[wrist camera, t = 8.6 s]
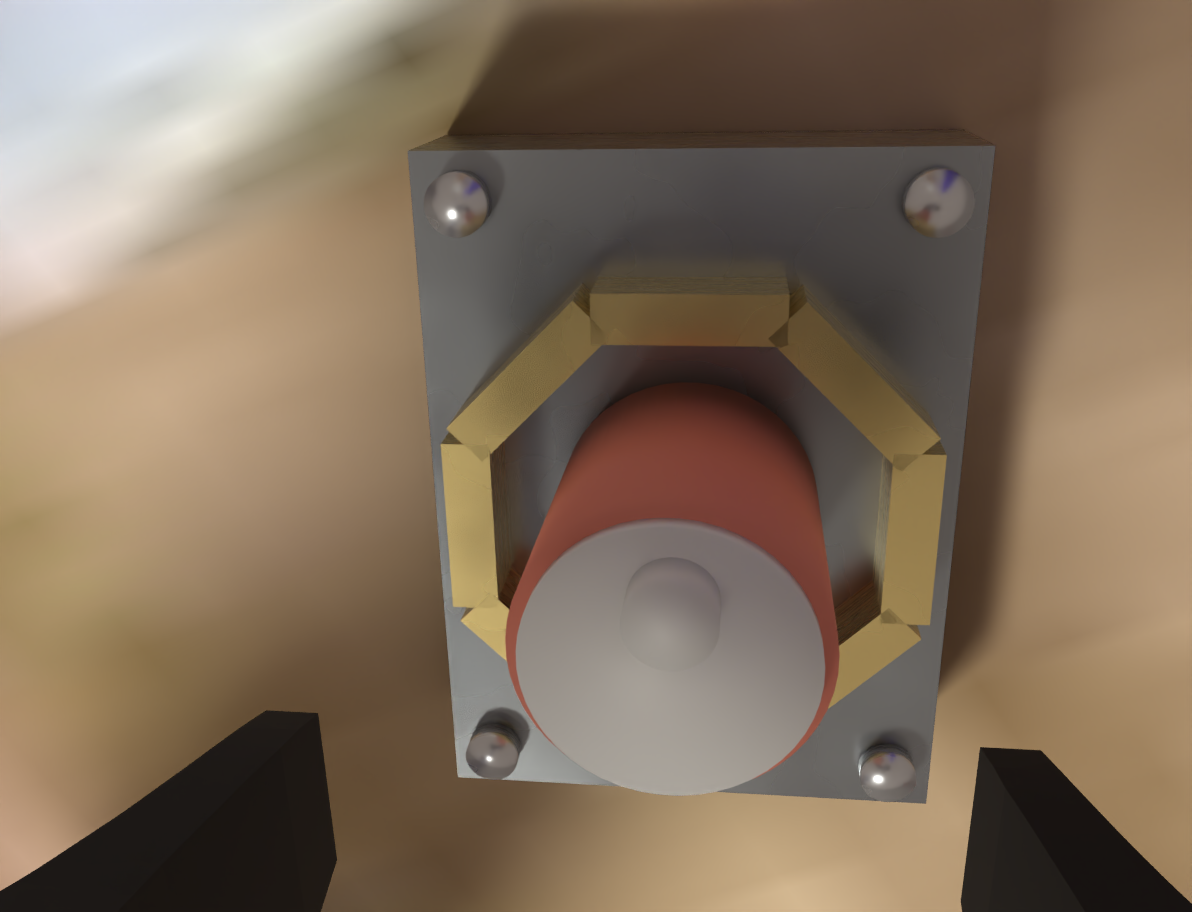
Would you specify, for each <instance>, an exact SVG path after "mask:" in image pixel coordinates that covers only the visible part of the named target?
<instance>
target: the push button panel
mask: <svg viewBox="0 0 1192 912" xmlns="http://www.w3.org/2000/svg"><path fill="white" fill-rule="evenodd" d="M994 154H995V145H993V144H991V143H989V142H987V141H985V140H983V139H981V138H979V137H977V136H975V135H973V134H971V133H969V132H967V131H965V130H892V131H798V132H704V133H609V134H515V135H445V136H443V137H440V138H438V139H435V140H433V141H431V142H428V143H426V144H423V145H421V146H419V147H416V148H414V149H411V150H409V151H408V160H409V172H410V185H411V197H412V210H413V222H414V235H415V247H416V260H417V272H418V285H419V297H420V310H421V322H422V335H423V347H424V360H425V372H426V385H427V397H428V410H429V423H430V435H431V448H432V460H433V473H434V485H435V498H436V510H437V523H438V535H439V548H440V560H441V573H442V585H443V598H444V610H445V623H446V635H447V648H448V660H449V673H450V685H451V698H452V710H453V723H454V736H455V748H456V761H457V773H458V777H464V778H482V779H491V780H497V779H499V780H517V781H535V782H553V783H570V784H588V785H606V786H619V785H617V784H614V783H612V782H609V781H607V780H604V779H602V778H600V777H598V776H596V775H595V774H593V773H591V772H589V771H587V770H585V769H584V768H582V767H581V766H580V765H578V764H577V763H575V762H574V761H572V760H571V759H570V758H568V757H567V756H566V755H565V754H563V753H562V752H561V751H560V750H559V749H558V748H557V747H556V746H554V745H553V744H552V743H551V742H550V741H549V740H548V739H547V738H546V737H545V736H544V735H543V733H542V732H541V731H540V730H539V729H538V728H537V727H536V725H535V724H534V723H533V721H532V720H531V718H530V717H529V715H528V714H527V712H526V711H525V709H524V707H523V705H522V703H521V702H520V700H519V698H518V696H517V694H516V691H515V688H514V686H513V683H512V680H511V677H510V673H509V668H508V663H507V659H506V645H505V635H506V624H507V617H508V613H509V609H510V605H511V601H512V599H513V596H514V594H515V592H516V589H517V587H518V584H519V582H520V579H521V577H522V574H523V572H524V569H525V567H526V565H527V562H528V560H529V557H530V555H531V552H532V550H533V547H534V545H535V542H536V540H537V538H538V535H539V533H540V530H541V528H542V525H543V523H544V520H545V518H546V515H547V513H548V510H549V508H550V506H551V503H552V501H553V498H554V496H555V493H556V491H557V488H558V486H559V483H560V481H561V479H562V476H563V474H564V471H565V469H566V466H567V464H568V461H569V459H570V457H571V454H572V452H573V449H574V447H575V446H576V444H577V442H578V441H579V439H580V437H581V435H582V434H583V433H584V432H585V430H586V429H587V428H588V427H589V425H590V424H591V423H592V422H593V421H594V420H595V419H596V418H597V417H598V416H599V415H600V414H601V413H602V412H603V411H605V410H606V409H607V408H609V407H610V406H612V405H613V404H614V403H616V402H617V401H619V400H621V399H623V398H625V397H627V396H629V395H631V394H633V393H635V392H638V391H641V390H643V389H646V388H650V387H654V386H658V385H662V384H670V383H679V382H689V383H704V384H711V385H717V386H720V387H724V388H728V389H731V390H734V391H736V392H739V393H741V394H744V395H746V396H748V397H750V398H752V399H754V400H755V401H757V402H759V403H761V404H762V405H764V406H765V407H767V408H768V409H769V410H771V411H772V412H773V413H774V414H776V415H777V416H778V417H779V418H780V419H781V420H782V421H783V422H784V423H785V424H786V425H787V426H788V427H789V428H790V429H791V431H792V432H793V433H794V435H795V436H796V437H797V439H798V440H799V442H800V443H801V445H802V447H803V449H804V450H805V452H806V454H807V456H808V459H809V461H810V464H811V466H812V469H813V473H814V477H815V481H816V486H817V493H818V500H819V507H820V514H821V521H822V528H823V535H824V542H825V549H826V555H827V562H828V569H829V576H830V583H831V590H832V597H833V604H834V611H835V618H836V625H837V632H838V642H839V653H840V657H839V671H838V678H837V682H836V687H835V691H834V694H833V697H832V699H831V702H830V704H829V707H828V710H827V712H826V713H825V715H824V717H823V719H822V720H821V722H820V724H819V725H818V727H817V728H816V730H815V731H814V732H813V733H812V735H811V736H810V737H809V739H808V740H807V741H806V742H805V743H804V744H803V745H802V746H801V747H800V748H799V749H798V750H797V751H796V752H795V753H794V754H793V755H792V756H790V757H789V758H788V759H786V760H785V761H784V762H782V763H781V764H779V765H778V766H777V767H775V768H773V769H772V770H770V771H768V772H766V773H764V774H763V775H761V776H759V777H757V778H754V779H752V780H749V781H747V782H744V783H742V784H740V785H737V786H735V787H732V788H728V789H724V790H721V791H717V792H730V793H747V794H765V795H783V796H801V797H818V798H836V799H854V800H871V801H883V802H907V803H925V804H926V798H927V789H928V779H929V770H930V760H931V751H932V741H933V732H934V722H935V713H936V703H937V694H938V685H939V675H940V666H941V656H942V647H943V637H944V628H945V618H946V609H947V599H948V590H949V580H950V571H951V561H952V552H953V543H954V533H955V524H956V514H957V505H958V495H959V486H960V476H961V467H962V457H963V448H964V438H965V429H966V420H967V410H968V401H969V391H970V382H971V372H972V363H973V353H974V344H975V334H976V325H977V315H978V306H979V296H980V287H981V278H982V268H983V259H984V249H985V240H986V230H987V221H988V211H989V202H990V192H991V183H992V173H993V164H994Z"/></svg>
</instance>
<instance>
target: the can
mask: <svg viewBox="0 0 1192 912" xmlns="http://www.w3.org/2000/svg"><path fill="white" fill-rule="evenodd" d="M505 645H506V659H507V663H508V668H509V673H510V677H511V680H512V683H513V686H514V688H515V691H516V694H517V696H518V698H519V700H520V702H521V703H522V705H523V707H524V709H525V711H526V712H527V714H528V715H529V717H530V718H531V720H532V721H533V723H534V724H535V725H536V727H537V728H538V729H539V730H540V731H541V732H542V733H543V735H544V736H545V737H546V738H547V739H548V740H549V741H550V742H551V743H552V744H553V745H554V746H556V747H557V748H558V749H559V750H560V751H561V752H562V753H563V754H565V755H566V756H567V757H568V758H570V759H571V760H572V761H574V762H575V763H577V764H578V765H580V766H581V767H582V768H584V769H585V770H587V771H589V772H591V773H593V774H595V775H596V776H598V777H600V778H602V779H604V780H607V781H609V782H612V783H614V784H617V785H619V786H622V787H626V788H629V789H633V790H636V791H640V792H646V793H652V794H658V795H673V796H683V795H699V794H705V793H712V792H717V791H721V790H724V789H728V788H732V787H735V786H737V785H740V784H742V783H744V782H747V781H749V780H752V779H754V778H757V777H759V776H761V775H763V774H764V773H766V772H768V771H770V770H772V769H773V768H775V767H777V766H778V765H779V764H781V763H782V762H784V761H785V760H786V759H788V758H789V757H790V756H792V755H793V754H794V753H795V752H796V751H797V750H798V749H799V748H800V747H801V746H802V745H803V744H804V743H805V742H806V741H807V740H808V739H809V737H810V736H811V735H812V733H813V732H814V731H815V730H816V728H817V727H818V725H819V724H820V722H821V720H822V719H823V717H824V715H825V713H826V712H827V710H828V707H829V704H830V702H831V699H832V697H833V694H834V691H835V687H836V682H837V678H838V671H839V657H840V653H839V642H838V632H837V625H836V618H835V611H834V604H833V597H832V590H831V583H830V576H829V569H828V562H827V555H826V549H825V542H824V535H823V528H822V521H821V514H820V507H819V500H818V493H817V486H816V481H815V477H814V473H813V469H812V466H811V464H810V461H809V459H808V456H807V454H806V452H805V450H804V449H803V447H802V445H801V443H800V442H799V440H798V439H797V437H796V436H795V435H794V433H793V432H792V431H791V429H790V428H789V427H788V426H787V425H786V424H785V423H784V422H783V421H782V420H781V419H780V418H779V417H778V416H777V415H776V414H774V413H773V412H772V411H771V410H769V409H768V408H767V407H765V406H764V405H762V404H761V403H759V402H757V401H755V400H754V399H752V398H750V397H748V396H746V395H744V394H741V393H739V392H736V391H734V390H731V389H728V388H724V387H720V386H717V385H711V384H704V383H689V382H679V383H670V384H662V385H658V386H654V387H650V388H646V389H643V390H641V391H638V392H635V393H633V394H631V395H629V396H627V397H625V398H623V399H621V400H619V401H617V402H616V403H614V404H613V405H612V406H610V407H609V408H607V409H606V410H605V411H603V412H602V413H601V414H600V415H599V416H598V417H597V418H596V419H595V420H594V421H593V422H592V423H591V424H590V425H589V427H588V428H587V429H586V430H585V432H584V433H583V434H582V435H581V437H580V439H579V441H578V442H577V444H576V446H575V447H574V449H573V452H572V454H571V457H570V459H569V461H568V464H567V466H566V469H565V471H564V474H563V476H562V479H561V481H560V483H559V486H558V488H557V491H556V493H555V496H554V498H553V501H552V503H551V506H550V508H549V510H548V513H547V515H546V518H545V520H544V523H543V525H542V528H541V530H540V533H539V535H538V538H537V540H536V542H535V545H534V547H533V550H532V552H531V555H530V557H529V560H528V562H527V565H526V567H525V569H524V572H523V574H522V577H521V579H520V582H519V584H518V587H517V589H516V592H515V594H514V596H513V599H512V601H511V605H510V609H509V613H508V617H507V624H506V635H505Z"/></svg>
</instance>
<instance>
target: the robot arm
mask: <svg viewBox="0 0 1192 912" xmlns="http://www.w3.org/2000/svg"><path fill="white" fill-rule="evenodd" d="M336 861H337V857H336V849H335V841H334V833H333V826H332V818H331V810H330V803H329V795H328V787H327V779H326V772H325V764H324V756H323V748H322V741H321V733H320V725H319V718H318V713H303V712H284V711H265V712H263V713H262V714H260V715H259V716H257V717H255V718H254V719H252V720H251V721H249V722H248V723H246V724H245V725H244V726H242V727H241V728H239V729H238V730H236V731H235V732H234V733H232V734H231V735H229V736H228V737H227V738H225V739H224V740H223V741H221V742H220V743H218V744H217V745H216V746H214V747H213V748H212V749H210V750H209V751H207V752H206V753H205V754H203V755H202V756H201V757H199V758H198V759H197V760H195V761H194V762H192V763H191V764H190V765H188V766H187V767H186V768H184V769H183V770H182V771H180V772H179V773H177V774H176V775H175V776H173V777H172V778H170V779H169V780H168V781H166V782H165V783H163V784H162V785H161V786H159V787H158V788H156V789H155V790H154V791H152V792H151V793H149V794H148V795H147V796H145V797H144V798H142V799H141V800H140V801H138V802H137V803H135V804H134V805H133V806H131V807H130V808H128V809H127V810H126V811H124V812H123V813H121V814H120V815H118V816H117V817H115V818H114V819H112V820H111V821H109V822H108V823H106V824H105V825H103V826H102V827H100V828H99V829H97V830H96V831H94V832H93V833H91V834H90V835H88V836H87V837H85V838H84V839H82V840H80V841H79V842H77V843H76V844H74V845H73V846H71V847H70V848H68V849H67V850H65V851H64V852H62V853H61V854H59V855H58V856H56V857H55V858H53V859H52V860H50V861H49V862H47V863H46V864H44V865H42V866H41V867H39V868H38V869H36V870H35V871H33V872H31V873H30V874H28V875H26V876H25V877H23V878H22V879H20V880H18V881H17V882H15V883H13V884H12V885H10V886H8V887H6V888H5V889H3V890H1V891H0V912H321V909H322V906H323V903H324V899H325V896H326V893H327V890H328V887H329V884H330V880H331V877H332V874H333V871H334V868H335V864H336ZM961 906H962V912H1192V904H1191V903H1190V902H1189V901H1188V900H1187V899H1186V898H1185V897H1184V896H1183V895H1182V894H1181V893H1180V892H1179V891H1177V890H1176V889H1175V888H1174V887H1173V886H1172V885H1171V884H1170V883H1169V882H1168V881H1167V880H1166V879H1165V878H1164V877H1163V876H1162V875H1161V874H1160V873H1159V872H1158V871H1157V870H1156V869H1155V868H1154V867H1153V866H1152V865H1151V864H1150V863H1149V862H1148V861H1147V860H1146V859H1145V858H1144V857H1143V856H1142V855H1141V854H1140V853H1139V852H1138V851H1137V850H1136V849H1135V848H1134V847H1133V846H1132V845H1131V844H1130V843H1129V842H1128V841H1127V840H1126V839H1125V838H1124V837H1123V836H1122V835H1121V834H1120V833H1119V832H1118V831H1117V830H1116V829H1115V828H1114V827H1113V826H1112V825H1111V824H1110V823H1109V822H1108V821H1107V819H1106V818H1105V817H1104V816H1103V815H1102V814H1101V813H1100V812H1099V811H1098V810H1097V809H1096V808H1095V807H1094V806H1093V805H1092V804H1091V803H1090V802H1089V801H1088V800H1087V798H1086V797H1085V796H1084V795H1083V794H1082V793H1081V792H1080V791H1079V790H1078V789H1077V788H1076V787H1075V786H1074V785H1073V784H1072V783H1071V782H1070V780H1069V779H1068V778H1067V777H1066V776H1065V775H1064V774H1063V773H1062V772H1061V771H1060V770H1059V769H1058V768H1057V767H1056V766H1055V765H1054V764H1053V763H1052V761H1051V760H1050V759H1049V758H1048V757H1047V756H1046V755H1045V754H1044V753H1043V752H1042V751H1041V750H1023V749H1004V748H984V747H980V753H979V761H978V769H977V777H976V785H975V793H974V801H973V809H972V817H971V825H970V833H969V840H968V848H967V856H966V864H965V872H964V880H963V888H962V896H961Z"/></svg>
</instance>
